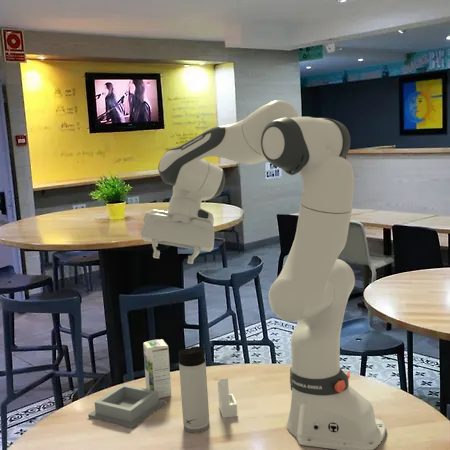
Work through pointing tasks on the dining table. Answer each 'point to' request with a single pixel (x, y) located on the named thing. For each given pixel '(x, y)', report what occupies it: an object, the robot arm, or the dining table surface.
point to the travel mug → (194, 389)
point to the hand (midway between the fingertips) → (172, 260)
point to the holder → (127, 406)
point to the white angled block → (226, 400)
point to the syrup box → (157, 367)
